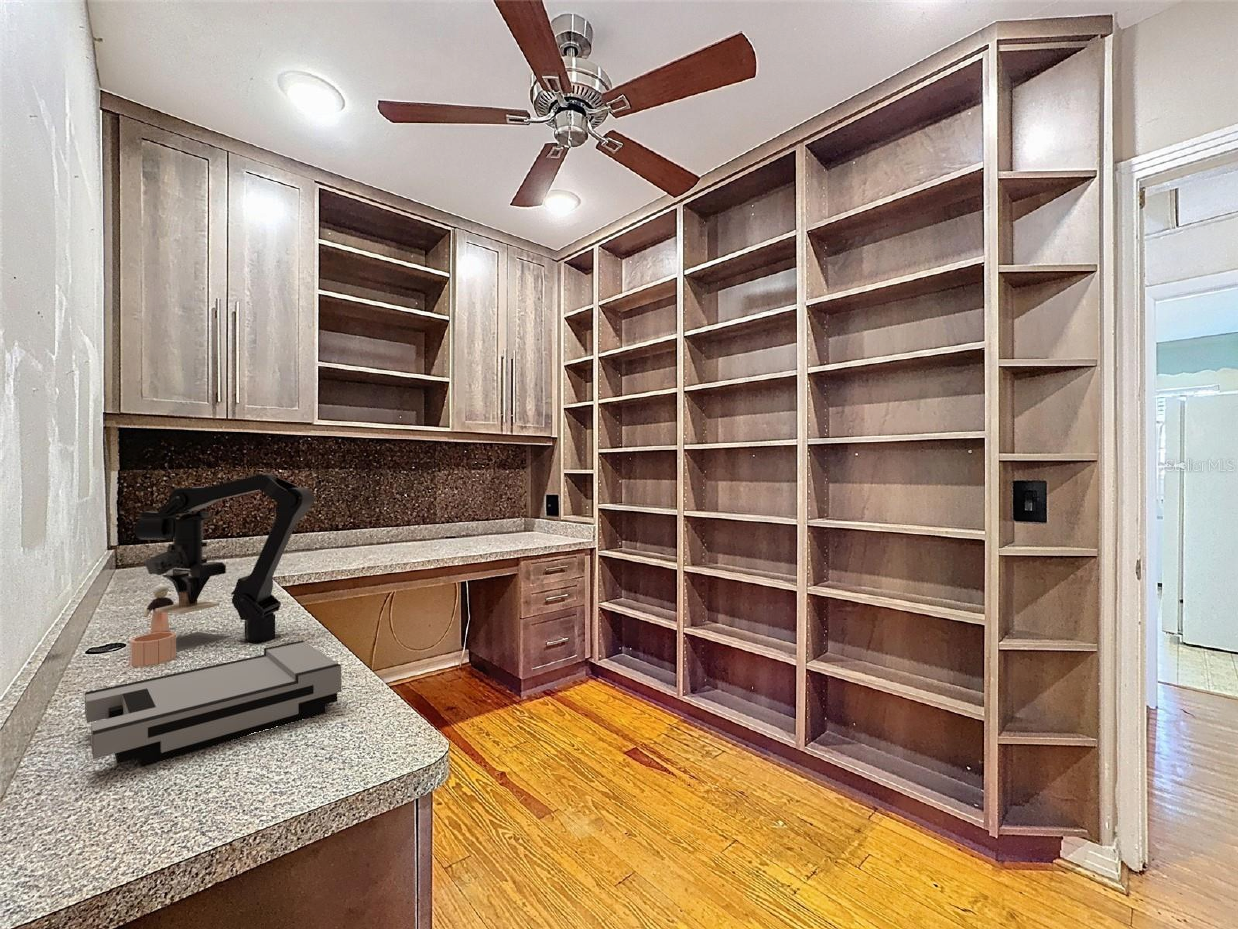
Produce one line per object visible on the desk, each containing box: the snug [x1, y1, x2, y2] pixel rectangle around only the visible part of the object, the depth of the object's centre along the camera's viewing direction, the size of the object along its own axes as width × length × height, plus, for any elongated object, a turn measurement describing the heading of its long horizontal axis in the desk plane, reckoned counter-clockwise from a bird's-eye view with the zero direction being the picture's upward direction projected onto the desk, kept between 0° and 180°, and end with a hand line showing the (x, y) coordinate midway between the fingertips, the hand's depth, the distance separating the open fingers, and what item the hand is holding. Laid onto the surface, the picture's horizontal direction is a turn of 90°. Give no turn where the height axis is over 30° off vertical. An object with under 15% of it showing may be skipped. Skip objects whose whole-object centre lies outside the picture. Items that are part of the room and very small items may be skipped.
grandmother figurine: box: [143, 583, 174, 633], centre depth 147 cm, size 8×4×13 cm, turn 179°
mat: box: [176, 631, 231, 652], centre depth 139 cm, size 12×12×1 cm
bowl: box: [129, 631, 177, 668], centre depth 125 cm, size 8×8×6 cm
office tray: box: [84, 640, 342, 768], centre depth 96 cm, size 21×32×8 cm, turn 135°
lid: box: [155, 590, 220, 615], centre depth 139 cm, size 9×9×4 cm
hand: (188, 603), depth 139 cm, fingers closed on lid, 3 cm apart
